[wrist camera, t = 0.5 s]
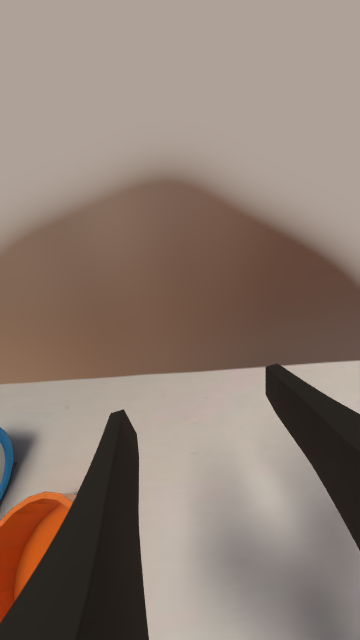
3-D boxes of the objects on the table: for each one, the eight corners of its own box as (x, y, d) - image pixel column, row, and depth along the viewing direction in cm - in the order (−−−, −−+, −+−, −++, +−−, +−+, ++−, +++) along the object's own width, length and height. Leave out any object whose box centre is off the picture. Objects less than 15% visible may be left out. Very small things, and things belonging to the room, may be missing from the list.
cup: (129, 591, 19) (99, 612, 15) (14, 690, 17) (-55, 745, 13) (97, 474, 26) (70, 467, 22) (11, 536, 24) (-37, 541, 20)
